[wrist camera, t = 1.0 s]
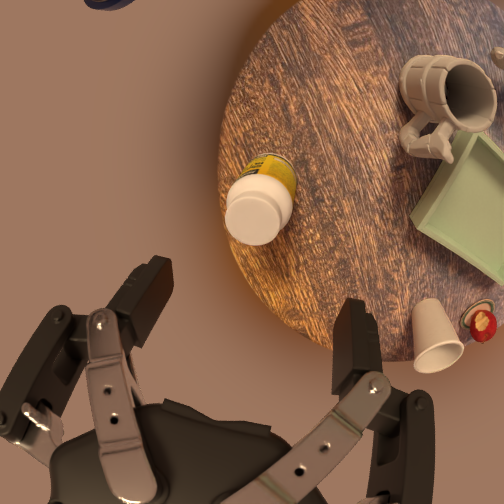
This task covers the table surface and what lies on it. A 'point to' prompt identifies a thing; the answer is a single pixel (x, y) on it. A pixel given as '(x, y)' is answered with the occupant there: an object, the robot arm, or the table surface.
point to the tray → (468, 204)
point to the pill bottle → (261, 199)
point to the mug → (444, 102)
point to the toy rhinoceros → (498, 57)
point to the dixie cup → (433, 337)
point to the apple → (480, 320)
